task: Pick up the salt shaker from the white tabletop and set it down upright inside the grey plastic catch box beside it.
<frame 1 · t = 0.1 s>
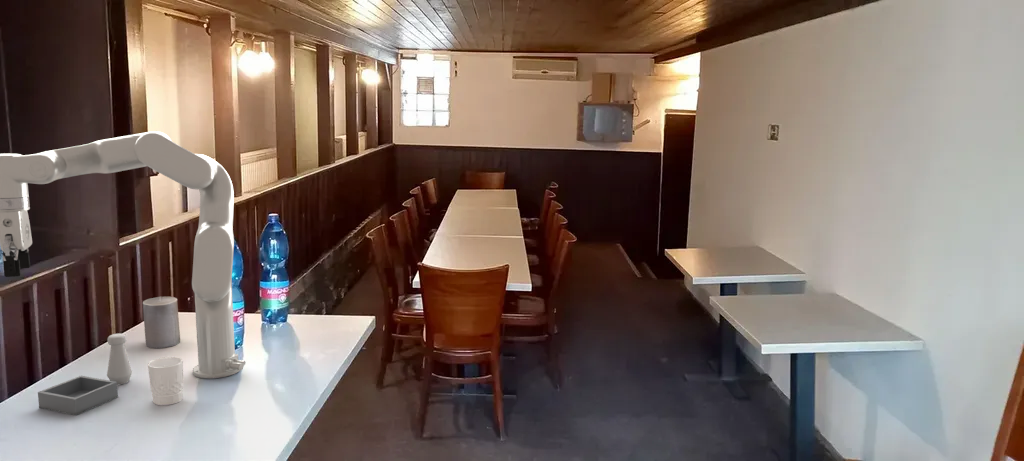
hand: (17, 272, 185), 31 cm above the table, tool pointing down, fingers open, 9 cm apart
white cup: (168, 401, 186), on the table
pillar candle: (163, 344, 229), on the table
catch box: (79, 402, 183), on the table
salt shaker: (120, 382, 197), on the table
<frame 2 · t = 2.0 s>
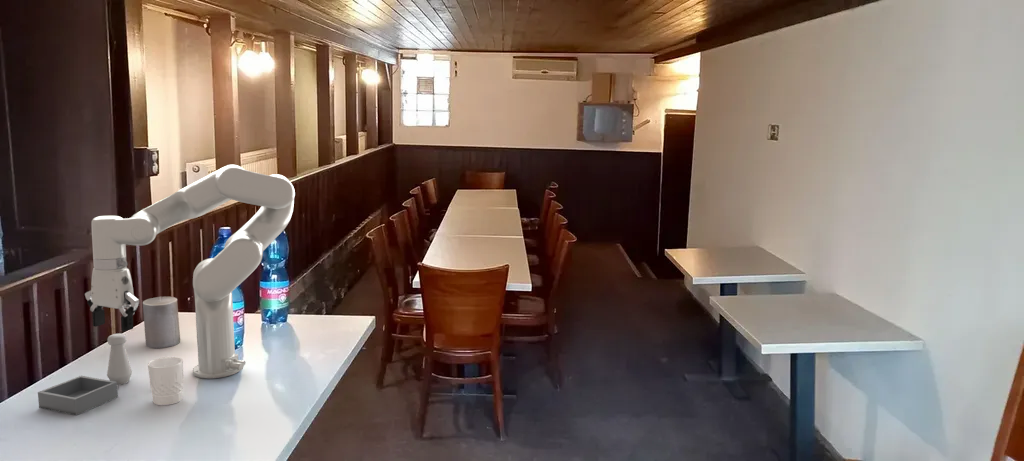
hand: (113, 327, 194), 15 cm above the table, tool pointing down, fingers open, 9 cm apart
nothing on the table moved.
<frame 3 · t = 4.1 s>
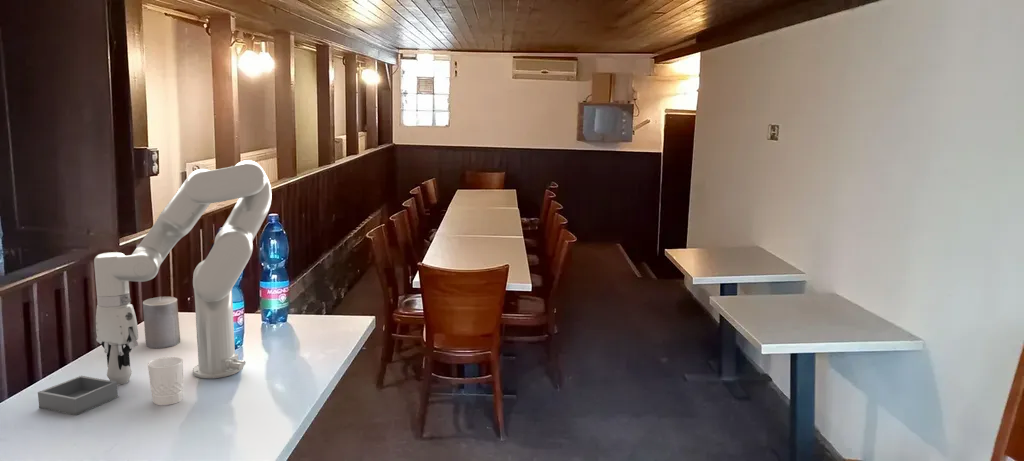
hand: (119, 366, 196), 4 cm above the table, tool pointing down, fingers closed on salt shaker, 3 cm apart
salt shaker: (120, 382, 197), on the table, touching gripper
everything else where it was.
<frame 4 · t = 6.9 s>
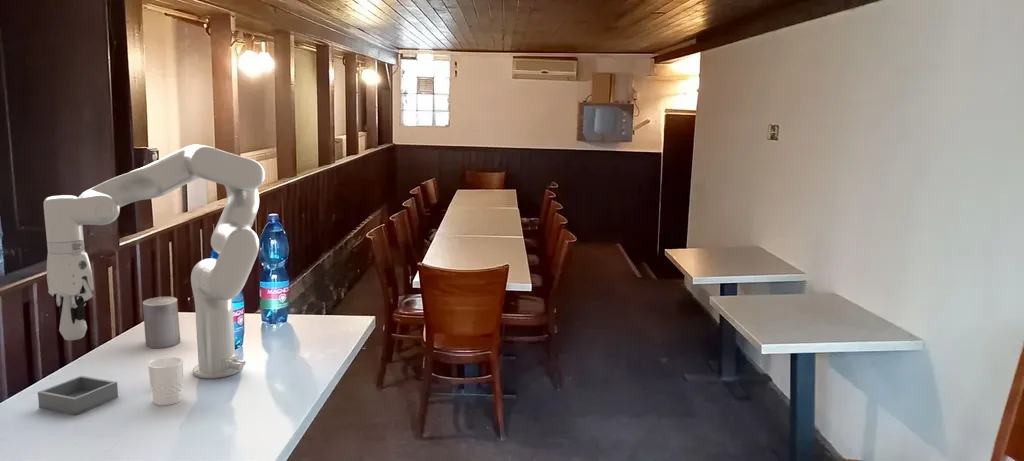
hand: (72, 321, 180), 21 cm above the table, tool pointing down, fingers closed on salt shaker, 3 cm apart
salt shaker: (74, 338, 181), point 16 cm above the table, touching gripper
everything else where it was.
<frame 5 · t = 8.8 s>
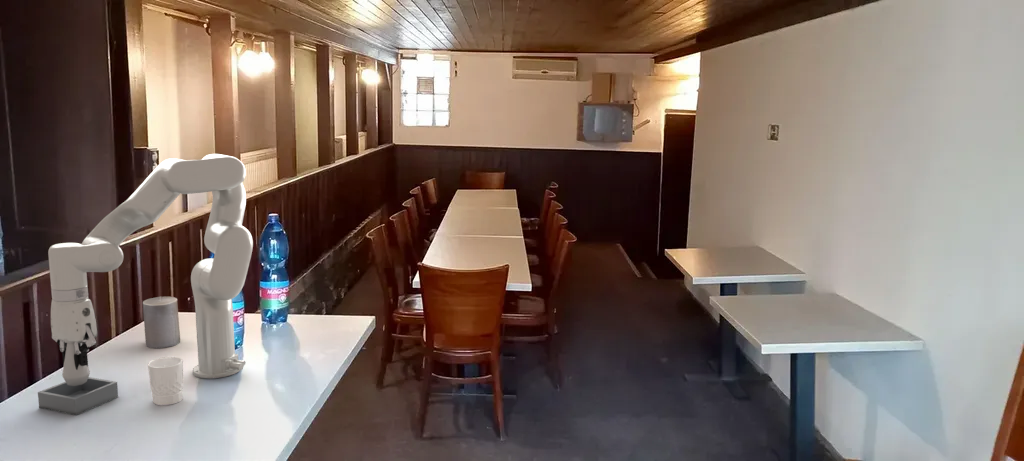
hand: (75, 366, 182), 9 cm above the table, tool pointing down, fingers closed on salt shaker, 3 cm apart
salt shaker: (76, 383, 183), point 5 cm above the table, touching gripper
everything else where it was.
when the fingers open (6 cm above the table, at t = 10.1 s): salt shaker drops 1 cm, resting on catch box.
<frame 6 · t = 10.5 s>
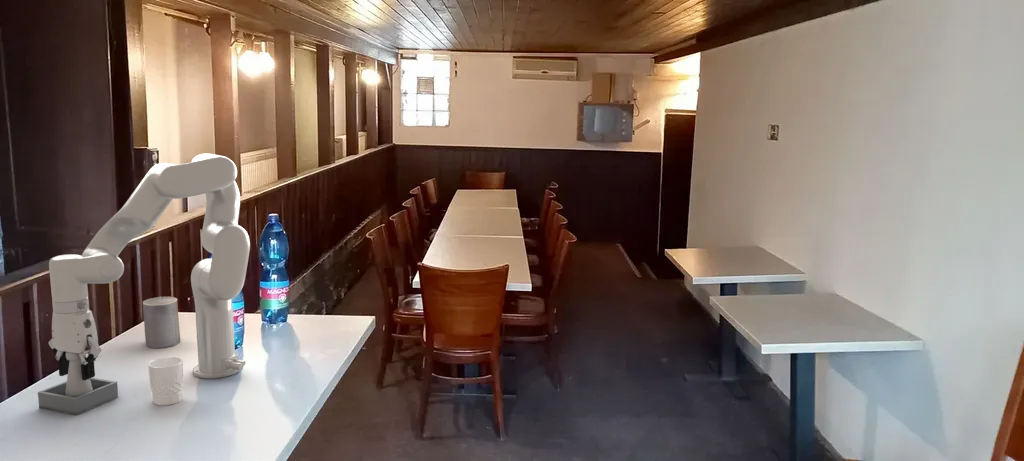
hand: (77, 375, 182), 7 cm above the table, tool pointing down, fingers open, 6 cm apart
salt shaker: (79, 400, 183), resting on catch box
everything else where it was.
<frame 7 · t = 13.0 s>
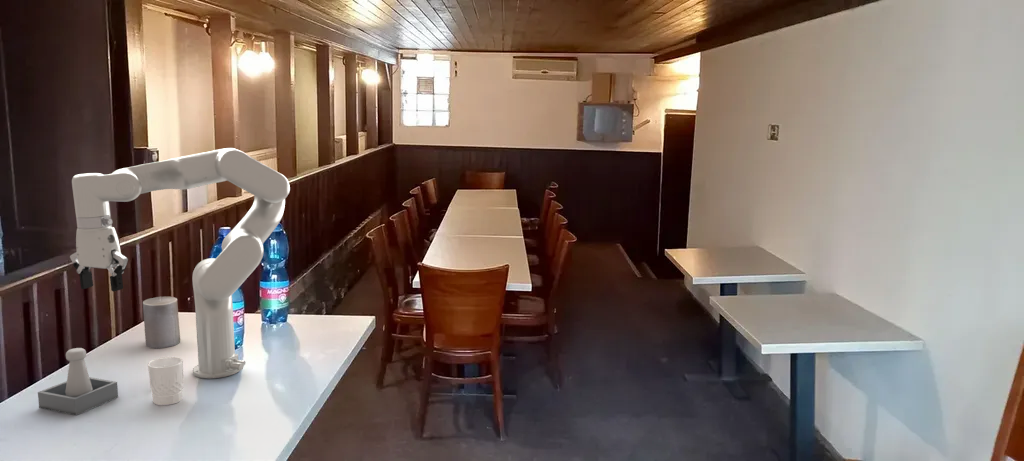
hand: (102, 288, 189), 26 cm above the table, tool pointing down, fingers open, 9 cm apart
nothing on the table moved.
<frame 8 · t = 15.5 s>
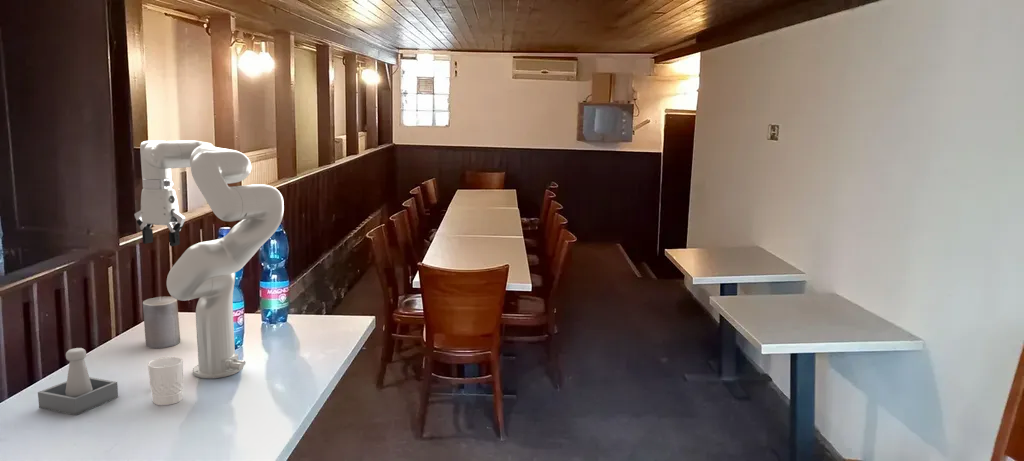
hand: (161, 244, 212), 33 cm above the table, tool pointing down, fingers open, 9 cm apart
nothing on the table moved.
at the end: salt shaker 0.1 cm off-centre on the catch box, point 0.4 cm above the catch box's base; salt shaker tilted 0°; the gripper is holding nothing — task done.
